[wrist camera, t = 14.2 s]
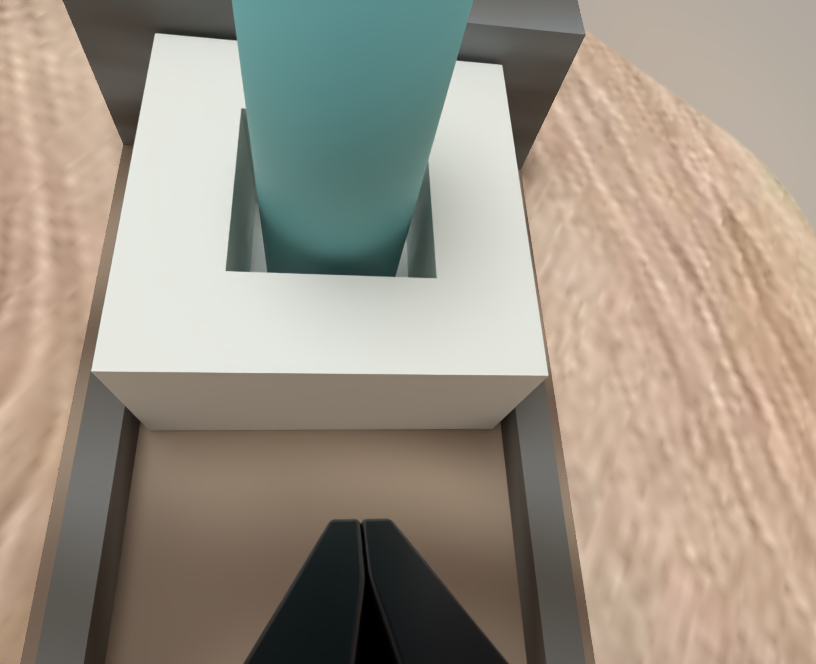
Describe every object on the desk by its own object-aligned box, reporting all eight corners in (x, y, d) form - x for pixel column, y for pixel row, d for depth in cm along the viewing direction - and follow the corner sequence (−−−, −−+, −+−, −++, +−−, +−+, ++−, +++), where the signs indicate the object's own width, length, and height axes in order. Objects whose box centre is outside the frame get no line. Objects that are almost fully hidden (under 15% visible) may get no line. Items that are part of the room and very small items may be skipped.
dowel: (410, 311, 19) (588, -163, 7) (286, 343, 18) (243, -155, 6) (371, 209, 20) (463, -338, 8) (253, 232, 19) (163, -357, 7)
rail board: (594, 719, 16) (764, 793, 10) (10, 768, 14) (-227, 901, 8) (509, 140, 24) (574, -12, 18) (136, 113, 22) (69, -69, 16)
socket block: (492, 428, 18) (548, 375, 14) (149, 430, 17) (91, 371, 12) (465, 169, 22) (501, 65, 18) (188, 151, 21) (155, 33, 16)
